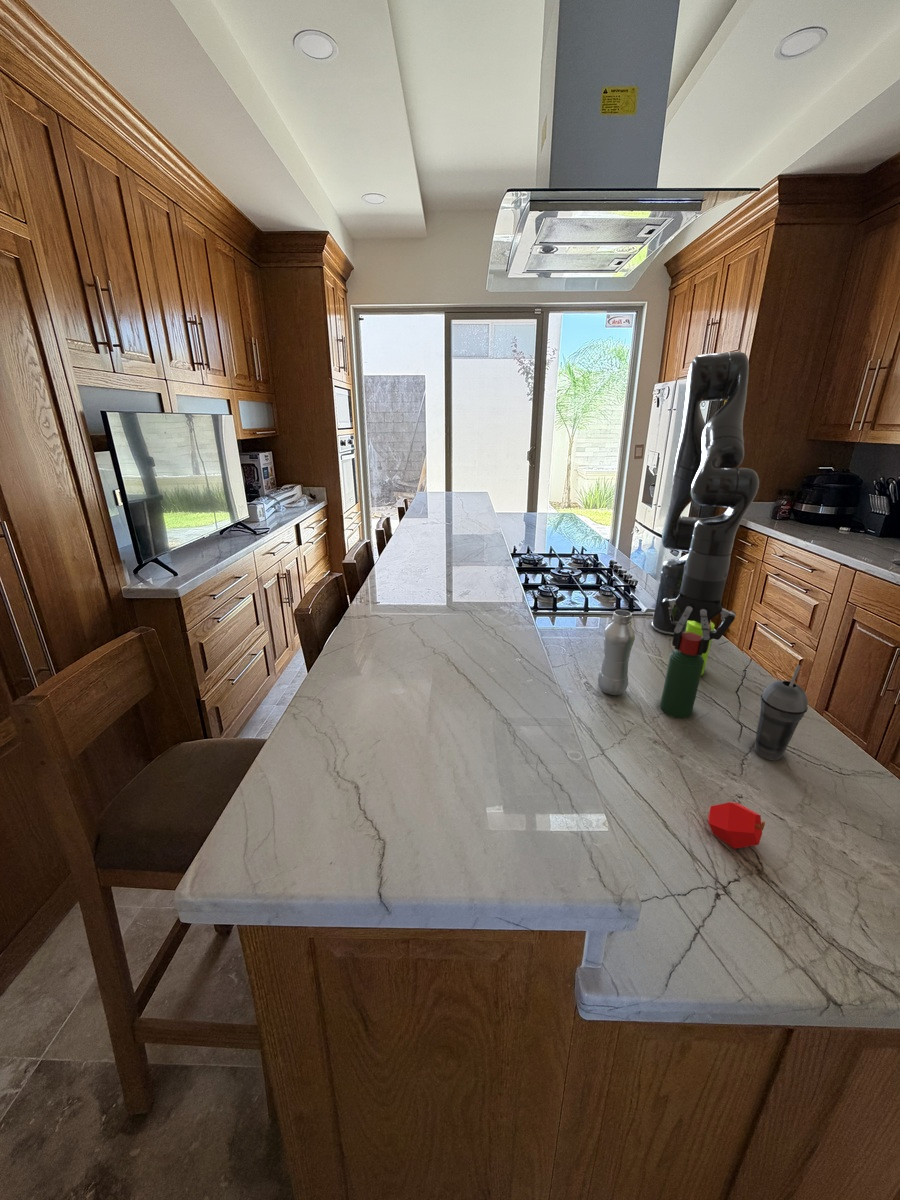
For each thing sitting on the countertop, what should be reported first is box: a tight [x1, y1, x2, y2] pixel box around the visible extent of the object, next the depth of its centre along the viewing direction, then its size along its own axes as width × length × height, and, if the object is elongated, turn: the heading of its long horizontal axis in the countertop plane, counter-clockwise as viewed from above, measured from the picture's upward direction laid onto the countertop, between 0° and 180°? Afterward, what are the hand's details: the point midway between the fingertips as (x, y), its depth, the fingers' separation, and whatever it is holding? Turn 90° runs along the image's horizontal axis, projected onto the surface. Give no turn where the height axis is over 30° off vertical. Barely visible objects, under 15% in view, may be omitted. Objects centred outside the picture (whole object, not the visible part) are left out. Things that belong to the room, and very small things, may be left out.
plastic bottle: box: [597, 609, 636, 696], centre depth 109 cm, size 6×7×20 cm
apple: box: [707, 801, 766, 850], centre depth 74 cm, size 7×7×8 cm
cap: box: [679, 632, 702, 655], centre depth 100 cm, size 4×4×3 cm
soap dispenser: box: [685, 621, 716, 676], centre depth 117 cm, size 6×7×20 cm
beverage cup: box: [754, 664, 809, 761], centre depth 89 cm, size 7×7×20 cm
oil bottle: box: [659, 649, 704, 719], centre depth 103 cm, size 6×6×18 cm
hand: (688, 650), depth 100 cm, fingers closed on cap, 4 cm apart
